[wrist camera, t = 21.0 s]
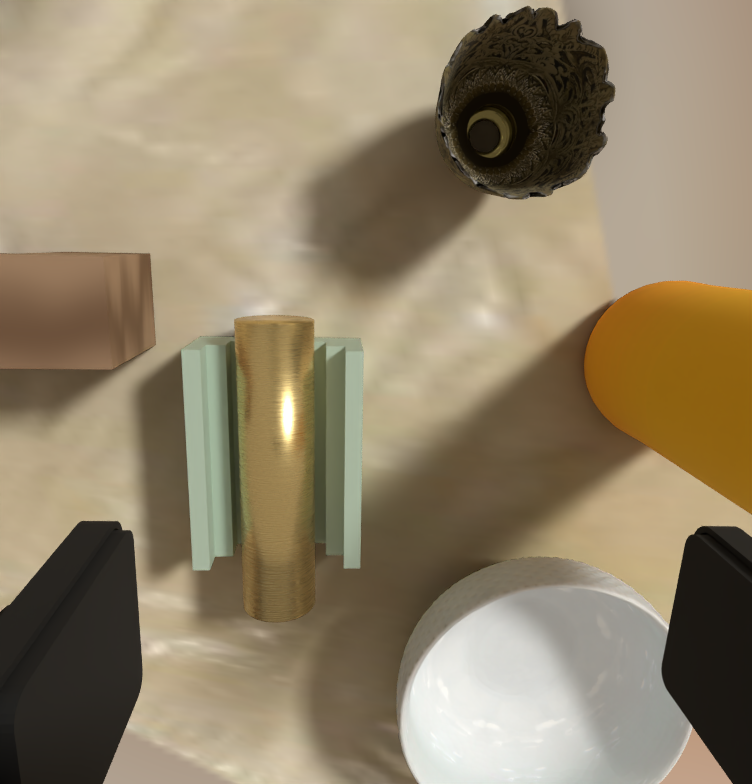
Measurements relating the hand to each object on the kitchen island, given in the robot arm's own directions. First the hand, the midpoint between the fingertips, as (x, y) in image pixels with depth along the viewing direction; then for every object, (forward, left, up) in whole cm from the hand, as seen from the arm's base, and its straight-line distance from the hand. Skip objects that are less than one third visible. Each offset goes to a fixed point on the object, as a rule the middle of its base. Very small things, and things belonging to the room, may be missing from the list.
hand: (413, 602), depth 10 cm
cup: (-12, +7, -26) cm, 29 cm away
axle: (+6, -4, -23) cm, 24 cm away
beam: (-3, -18, -26) cm, 32 cm away
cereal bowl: (+19, +11, -26) cm, 34 cm away
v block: (+5, -4, -26) cm, 27 cm away
